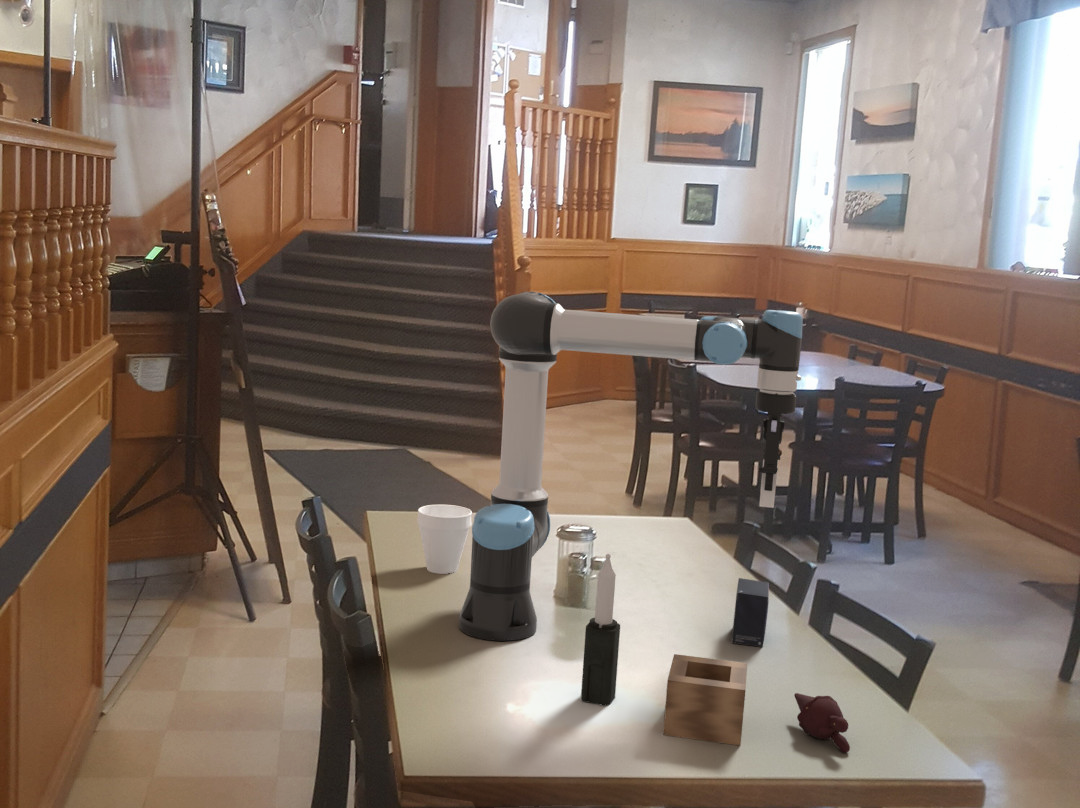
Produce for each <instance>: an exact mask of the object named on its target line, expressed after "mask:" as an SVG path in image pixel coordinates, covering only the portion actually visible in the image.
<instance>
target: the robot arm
mask: <svg viewBox="0 0 1080 808" xmlns="http://www.w3.org/2000/svg"><path fill="white" fill-rule="evenodd" d="M803 321H804V319H803V316H802V314H800V313H799V312H796V311H789V310H778V309H777V310H774V309H767V310H764V312H763V316H762V317H761V318H760V319H751V318H750V319H749V318H739V317H730V316H729V317H727V316H721V315H715V316H713V315H711V316H707V315H706V316H705V315H704V316H702V317H701V318H700V319H696V318H695V319H693V318H682V317H681V318H679V317H667V316H656V315H655V316H653V315H644V314H643V315H642V314H629V313H628V314H627V313H616V312H615V313H614V312H611V313H610V312H600V311H590V310H589V311H587V310H576V309H575V310H574V309H565V308H564V307H563V306H562V305H561V304H560V303H557V302H555V301H554V299H552V297H549V296H548V295H546V294H544V293H542V292H535V291H524V292H521V293H517V294H512V295H510V296H507V297H505V298H503V299H502V300H500V302H499V303H498V304H496V306H495V308H494V309H493V311H492V313H491V316H490V323H489V325H490V332H491V336H492V338H493V339H494V342H495V343H496V344H497V345H498V346H499V348H498V360H499V361H500V362H501V363H502V365H504V368H505V375H504V392H503V408H502V409H503V412H502V429H501V430H502V431H501V447H500V449H501V450H500V462H499V463H500V464H499V465H500V466H499V482H498V485H497V486H495V487H494V488H492V490H491V491H490V492H491V493H490V494H491V495H490V505H487V506H483V507H482V508H480V509H479V510H477V512H476V513H475V515H474V517H473V523H472V526H471V534H472V536H471V537H472V540H471V541H472V542H471V555H470V556H471V558H470V559H471V560H470V576H469V577H470V579H469V580H470V581H469V590H468V592H467V595H466V597H465V599H464V602H463V605H462V607H461V610H460V613H459V617H458V628H459V630H460V631H461V632H463V633H464V634H466V635H467V636H471V637H474V638H477V639H481V640H488V641H496V642H497V641H498V642H500V641H501V642H502V641H503V642H504V641H507V642H508V641H517V640H522V639H523V640H524V639H527V638H529V637H531V636H533V635H534V634H535V633H536V632H537V625H538V624H537V623H538V620H537V614H536V611H535V607H534V602H533V599H532V596H531V591H530V590H531V586H530V585H531V577H532V575H531V574H532V560H533V557H534V556H535V555H536V553H538V551H539V550H540V549H542V547H543V546H544V545H545V543H546V541H547V539H548V537H549V535H550V530H551V517H550V513H549V511H548V505H549V493H548V492H547V491H546V490H545V489H544V488H543V486H542V483H543V482H542V479H543V463H544V446H545V431H546V430H545V429H546V415H547V414H546V413H547V398H548V381H549V371H550V369H551V368H552V367H553V366H554V365H555V364H556V363H557V360H558V359H557V357H558V356H557V355H558V353H559V352H561V351H571V352H572V351H574V352H583V353H584V352H585V353H597V354H608V355H609V354H610V355H623V356H634V357H635V356H636V357H637V356H638V357H649V358H650V357H651V358H663V359H673V360H674V359H675V360H676V359H678V360H690V361H698V362H699V361H700V362H710V363H711V362H712V363H714V364H716V365H721V366H723V365H725V366H727V365H733V364H735V363H736V362H737V361H739V360H740V359H742V358H743V359H744V358H745V359H753V360H754V359H758V360H759V364H758V368H757V369H758V371H757V381H756V387H757V389H758V391H756V397H755V409H756V411H759V412H761V413H766V416H767V419H763V424H762V425H763V426H762V430H763V439H762V442H763V443H764V449H763V452H764V453H763V460H762V467H759V469H758V473H759V474H761V481H760V492H759V493H760V495H759V504H758V507H760V508H761V507H763V508H772V509H774V508H775V499H776V498H775V497H776V488H777V487H776V486H777V476H778V474H777V473H778V471H779V470H778V469H779V468H778V461H781V454H779V448H780V445H781V444H782V439H783V433H784V431H785V420H781V417H782V415H791V414H794V413H795V411H796V403H797V395H796V394H795V393H794V392H796V391H797V388H798V382H800V381H802V376H801V375H798V374H799V369H800V361H801V360H800V359H801V349H802V342H803V340H802V339H803V323H804V322H803ZM797 381H798V382H797Z"/></svg>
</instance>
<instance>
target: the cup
mask: <svg viewBox="0 0 1080 808" xmlns="http://www.w3.org/2000/svg"><path fill="white" fill-rule="evenodd" d="M417 513H418V514H417V519H416V524H417V525H418V527H419V528H418V529H419V532H420V538H421V543H422V549H423V554H424V561H425V564H426V565H425V566H426V570H427V571H428V572H430V573H432V574H433V573H434V574H437V575H438V574H439V575H440V574H441V575H447V574H448V573H450V574H454V573H456V572H457V571H458V569H459V566H460V561H461V558H462V555H463V551H464V549H465V544H466V541H467V537H468V534H469V531H470V527H471V528H472V526H473V523H472V515H473V512H472V510H471V509H470V508H467V507H464V506H460V505H453V504H428V505H423V506H421V507H419V508H418V509H417ZM453 572H454V573H453Z"/></svg>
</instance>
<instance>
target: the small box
mask: <svg viewBox="0 0 1080 808" xmlns="http://www.w3.org/2000/svg"><path fill="white" fill-rule="evenodd" d="M769 585H770V584H769V582H768V581H760V580H754V579H746V578H742V577H741V578H740V577H739V578H738V581H737V588H736V594H735V604H734V605H735V606H734V615H733V624H732V634H731V644H735V645H736V644H737V645H743V646H751V647H752V646H753V647H759V648H763V647H764V642H765V636H766V630H767V620H768V611H769V604H770V603H769V601H770V600H769V599H770V594H769V593H770V588H769V587H770V586H769Z"/></svg>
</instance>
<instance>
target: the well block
mask: <svg viewBox="0 0 1080 808" xmlns="http://www.w3.org/2000/svg"><path fill="white" fill-rule="evenodd" d="M747 672H748V663H747V662H739V661H731V660H723V659H716V658H709V657H700V656H693V655H684V654H677V653H676V654H673V656H672V662H671V664H670V670H669V673H668V677H667V684H666V693H665V694H666V695H665V696H666V697H665V707H664V708H665V709H664V720H663V722H664V723H663V731H662V733H663V735H664V736H671V737H678V738H683V739H684V738H685V739H691V740H698V741H706V742H712V743H719V744H727V745H734V746H741V744H742V743H741V742H742V736H743V735H742V733H743V724H744V723H743V721H744V713H745V712H744V710H745V700H746V690H747V689H746V688H747V676H748V673H747Z"/></svg>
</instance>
